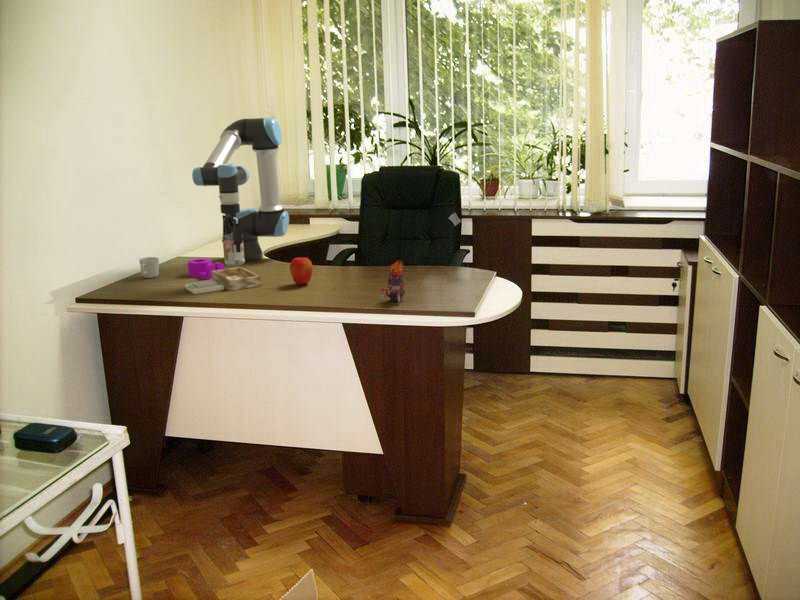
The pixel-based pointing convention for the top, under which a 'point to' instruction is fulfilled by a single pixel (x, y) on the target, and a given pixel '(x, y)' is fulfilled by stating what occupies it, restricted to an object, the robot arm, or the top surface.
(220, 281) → the trough board
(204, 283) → the grey square pad
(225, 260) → the beverage can
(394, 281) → the figurine
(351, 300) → the top surface
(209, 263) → the magenta pipe bracket
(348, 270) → the top surface
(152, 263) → the cup
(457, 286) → the top surface
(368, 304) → the top surface
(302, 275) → the apple
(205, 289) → the checker base
